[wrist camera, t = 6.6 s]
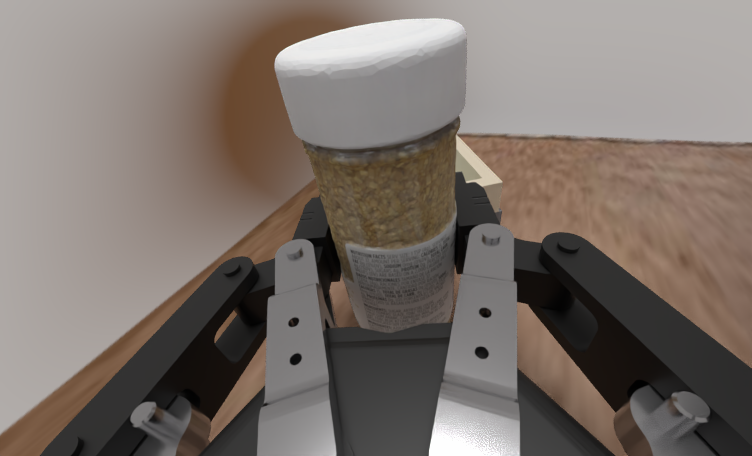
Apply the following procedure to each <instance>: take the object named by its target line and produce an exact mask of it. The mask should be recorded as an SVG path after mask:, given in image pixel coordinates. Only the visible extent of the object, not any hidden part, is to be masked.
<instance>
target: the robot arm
mask: <svg viewBox="0 0 752 456" xmlns="http://www.w3.org/2000/svg"><path fill="white" fill-rule="evenodd" d="M455 201H456V208H457V216H456V240H455V267H456V271H457V274H461V278H460V284H459V290H458V295H457V301H456V307H455V313H454V319H453V322H450V323H429V324H421V325H417V326H414V327H410V328H407V329H403V330H400V331H396V332H393V333H385V332H380V331H375V330H370V329H365V328H360V327H344V328H337V324H336V318H335V313H334V307H333V302H332V297H331V293H330V285H331V282H338V281H340V277H341V267H340V260H339V258H338V254H337V250H336V247H335V243H334V241H333V238H332V234H331V230H330V226H329V224H328V221H327V216H326V213H325V210H324V206H323V203H322V201H321V198H320V195H319V197H317V198H312V199H311V200H310V201H309V202H308V203H307V204H306V205H305V208H304V210H303V214H302V216H301V218H300V221H299V223H298V226H297V229H296V231H295V234H294V237H293V239H292V241H290V242H287V243H286V244H284V245H283V246H281V247H280V248H279V249H278V251H277V252H276V255H275V258H274V259H272V260H269V261H266V262H262V263H259V264H256V265H254V264H253V262H252V260H251V259H250V258H248V257H235V258H232V259H230V260H228V261H226V262H224V263H223V264H221V265H220V266H219V267H218V268H217V269H216V270H215V271H214V272H213V273H212V274H211V275H210V276H209V277H208V278H207V279H206V280H205V281H204V282H203V284H202V285H201V286H200V287H199V288H198V289H197V290H196V291H195V292H194V293H193V294H192V295H191V296H190V297H189V298H188V299H187V300H186V301H185V302H184V303H183V304H182V306H181V307H180V308H179V309H178V310H177V311H176V312H175V313H174V314H173V315H172V316H171V317H170V318H169V319H168V320H167V321H166V322H165V323H164V324H163V325H162V326H161V328H160V329H159V330H158V331H157V332H156V333H155V334H154V335H153V336H152V337H151V338H150V339H149V340H148V341H147V342H146V343H145V344H144V345H143V346H142V347H141V348H140V350H139V351H138V352H137V353H136V354H135V355H134V356H133V357H132V358H131V359H130V360H129V361H128V362H127V363H126V364H125V365H124V366H123V367H122V368H121V369H120V370H119V372H118V373H117V374H116V375H115V376H114V377H113V378H112V379H111V380H110V381H109V382H108V383H107V384H106V385H105V386H104V387H103V388H102V389H101V390H100V391H99V392H98V394H97V395H96V396H95V397H94V398H93V399H92V400H91V401H90V402H89V403H88V404H87V405H86V406H85V407H84V408H83V409H82V410H81V411H80V412H79V413H78V414H77V416H76V417H75V418H74V419H73V420H72V421H71V422H70V423H69V424H68V425H67V426H66V427H65V428H64V429H63V430H62V431H61V432H60V433H59V434H58V435H57V436H56V438H55V439H54V440H53V441H52V442H51V443H50V444H49V445H48V446H47V447H46V448H45V450H44V451H43V452H42V454H41V455H40V456H615V455H614V454H613V453H612V452H611V451H609V450H608V449H607V448H606V447H605V446H604V445H603V444H602V443H600V442H599V441H598V440H597V439H596V438H595V437H594V436H593V435H592V434H590V433H589V432H588V431H587V430H586V429H585V428H584V427H583V426H582V425H580V424H579V423H578V422H577V421H576V420H575V419H574V418H573V417H572V416H570V415H569V414H568V413H567V412H566V411H565V410H564V409H563V408H561V407H560V406H559V405H558V404H557V403H556V402H555V401H554V400H553V399H551V398H550V397H549V396H548V395H547V394H546V393H545V392H544V391H543V390H541V389H540V388H539V387H538V386H537V385H536V384H535V383H534V382H532V381H531V380H530V379H529V378H528V377H527V376H526V375H525V374H524V373H522V372H521V371H520V370H519V369H518V368H517V302H521V303H526V304H528V305H529V307H530V308H531V310H532V311H533V312H534V313H535V315H536V316H537V317H538V318H539V319H540V321H541V322H542V323H543V324H544V326H545V327H546V328H547V329H548V330H549V332H550V333H551V334H552V335H553V337H554V338H555V339H556V340H557V341H558V343H559V344H560V345H561V346H562V348H563V349H564V350H565V351H566V352H567V354H568V355H569V356H570V357H571V359H572V360H573V361H574V362H575V363H576V365H577V366H578V367H579V368H580V370H581V371H582V372H583V373H584V374H585V376H586V377H587V378H588V379H589V381H590V382H591V383H592V384H593V385H594V387H595V388H596V389H597V390H598V392H599V393H600V394H601V395H602V396H603V398H604V399H605V400H606V401H607V403H608V404H609V405H610V406H611V407H612V409H613V410H614V411H615V412H616V414H615V416H614V430H615V433H616V435H617V438H618V440H619V441H620V443H621V445H622V446H623V449H624V451H625V452H626V453H627V455H628V456H752V369H751V368H750V367H749V366H748V365H746V364H745V363H744V362H742V361H741V360H740V359H739V358H737V357H736V356H735V355H733V354H732V353H731V352H730V351H728V350H727V349H726V348H725V347H723V346H722V345H721V344H719V343H718V342H717V341H716V340H714V339H713V338H712V337H710V336H709V335H708V334H707V333H705V332H704V331H703V330H701V329H700V328H699V327H698V326H696V325H695V324H694V323H692V322H691V321H690V320H689V319H687V318H686V317H685V316H683V315H682V314H681V313H680V312H678V311H677V310H676V309H674V308H673V307H672V306H671V305H669V304H668V303H667V302H665V301H664V300H663V299H662V298H660V297H659V296H658V295H656V294H655V293H654V292H653V291H651V290H650V289H649V288H647V287H646V286H645V285H644V284H642V283H641V282H640V281H638V280H637V279H636V278H635V277H633V276H632V275H631V274H629V273H628V272H627V271H626V270H624V269H623V268H622V267H620V266H619V265H618V264H617V263H615V262H614V261H613V260H611V259H610V258H609V257H608V256H606V255H605V254H604V253H602V252H601V251H600V250H599V249H597V248H596V247H595V246H593V245H592V244H591V243H590V242H588V241H587V240H585V239H584V238H582V237H580V236H577V235H574V234H571V233H564V232H559V233H552V234H549V235H548V236H546V237H545V238H544V239H543V241H542V243H537V242H530V241H524V240H519V239H516V238H514V236H513V234H512V233H511V231H510V230H508V229H507V228H505V227H503V226H501V225H500V223H499V221H498V218H497V216H496V214H495V212H494V209H493V207H492V205H491V204H490V201H489V198H488V197H487V194H486V192H485V189H484V188H483V187H482V186H480V185H479V184H478V183H476V182H470V183H466V181H465V178H464V175H463V173H462V171H461V172H455ZM233 310H234V311H235V312H236V313H237V316H236V317H235V318H234V319H233V321H232V322H231V323H230V325H229V326H228V327H227V329H226V330H225V331H224V332H223V334H222V335H221V336H220V338H219V339H218V340H217V341H216V343H214V338H215V335H216V332H217V331H218V329H219V328H220V327H221V325H222V324H223V323H224V322H225V320H226V319H227V318H228V317H229V315H230V314H231V313H232V312H233ZM266 337H267V342H266V377H265V386H264V387H263V388H262V389H261V390H260V391H259V392H258V393H257V394H256V396H255V397H254V398H253V399H252V400H251V401H250V402H249V403H248V404H247V405H246V406H245V407H244V408H243V409H242V410H241V411H240V412H239V413H238V414H237V415H236V416H235V417H234V419H233V420H232V421H231V422H230V423H229V424H228V425H227V426H226V427H225V428H224V429H223V430H222V431H221V432H220V433H219V434H218V435H217V436H216V437H215V438H214V439H213V441H212V442H211V443H210V441H209V439H208V438H209V435H210V430H211V423H210V422H211V421H212V419H213V418H214V416H215V415H216V413H217V412H218V410H219V409H220V407H221V406H222V404H223V402H224V401H225V399H226V398H227V396H228V395H229V393H230V392H231V390H232V389H233V387H234V386H235V384H236V383H237V381H238V379H239V378H240V376H241V375H242V373H243V372H244V370H245V369H246V367H247V366H248V364H249V363H250V361H251V360H252V358H253V356H254V355H255V353H256V352H257V350H258V349H259V347H260V346H261V344H262V343H263V341H264V340H265V338H266Z"/></svg>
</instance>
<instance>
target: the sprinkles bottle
mask: <svg viewBox="0 0 752 456" xmlns="http://www.w3.org/2000/svg"><path fill="white" fill-rule="evenodd" d="M466 44H467V39H466V32H465V30H464V28H463V26H462V25H461V24H460V23H458V22H455V21H452V20H448V19H435V18H433V19H404V20H393V21H387V22H380V23H372V24H366V25H361V26H356V27H351V28H347V29H342V30H338V31H334V32H329V33H326V34H322V35H320V36H316V37H314V38H311V39H307V40H304V41H301V42H299V43H296V44H294V45H292V46H289V47H287V48H285V49H284V50H283V51H281V52H280V53H279V54H278V56H277V57H276V60H275V72H276V75H277V79H278V82H279V85H280V89H281V92H282V96H283V99H284V103H285V105H286V108H287V112H288V115H289V118H290V121H291V124H292V127H293V130H294V132H295V134H296V135H297V136H298V137H299V138H300V139H302V142H303V146H304V148H305V152H306V154H308V155H309V159H310V162H311V165H312V168H313V172H314V175H315V178H316V182H317V186H318V189H319V192H320V198H321V201H322V203H323V206H324V210H325V213H326V216H327V221H328V224H329V226H330V230H331V234H332V238H333V241H334V243H335V247H336V250H337V254H338V258H339V260H340V267H341V272H342V276H343V279H344V282H345V286H346V289H347V293H348V296H349V299H350V302H351V305H352V308H353V312H354V315H355V318H356V320H357V322H358V323H359V326H360V328H365V329H370V330H375V331H380V332H385V333H393V332H396V331H400V330H403V329H407V328H410V327H414V326H417V325H421V324H429V323H450V322H451V321H450V319H451V313H452V308H453V295H454V269H455V240H456V216H457V208H456V201H455V168H456V134H457V131H458V130H459V127H460V118H459V115H460V113H461V112H462V110H463V108H464V106H465V94H466V63H467V60H466V58H467V57H466V56H467V53H466V52H467V47H466V46H467V45H466Z"/></svg>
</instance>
